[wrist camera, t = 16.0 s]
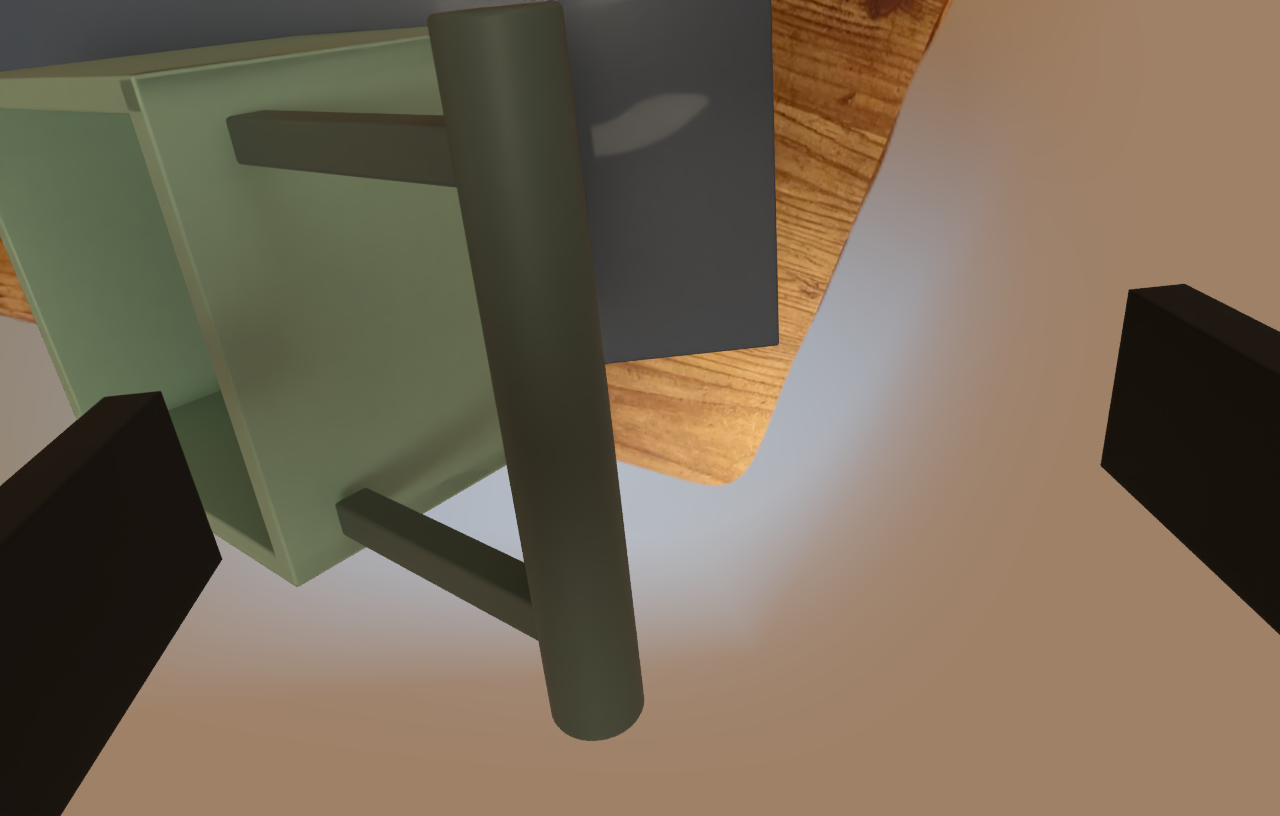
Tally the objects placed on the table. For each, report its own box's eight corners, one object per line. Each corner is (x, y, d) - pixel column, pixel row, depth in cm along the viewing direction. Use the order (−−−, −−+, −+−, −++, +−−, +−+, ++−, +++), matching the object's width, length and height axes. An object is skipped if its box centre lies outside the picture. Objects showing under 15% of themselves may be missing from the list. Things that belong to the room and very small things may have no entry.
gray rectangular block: (692, -59, 44) (769, -87, 26) (708, 216, 50) (779, 345, 33) (195, -9, 44) (-71, -3, 26) (271, 262, 50) (99, 419, 32)
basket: (872, -36, 15) (436, 16, 9) (860, 504, 20) (571, 788, 14) (295, 17, 27) (-76, 56, 20) (376, 353, 31) (96, 470, 25)
